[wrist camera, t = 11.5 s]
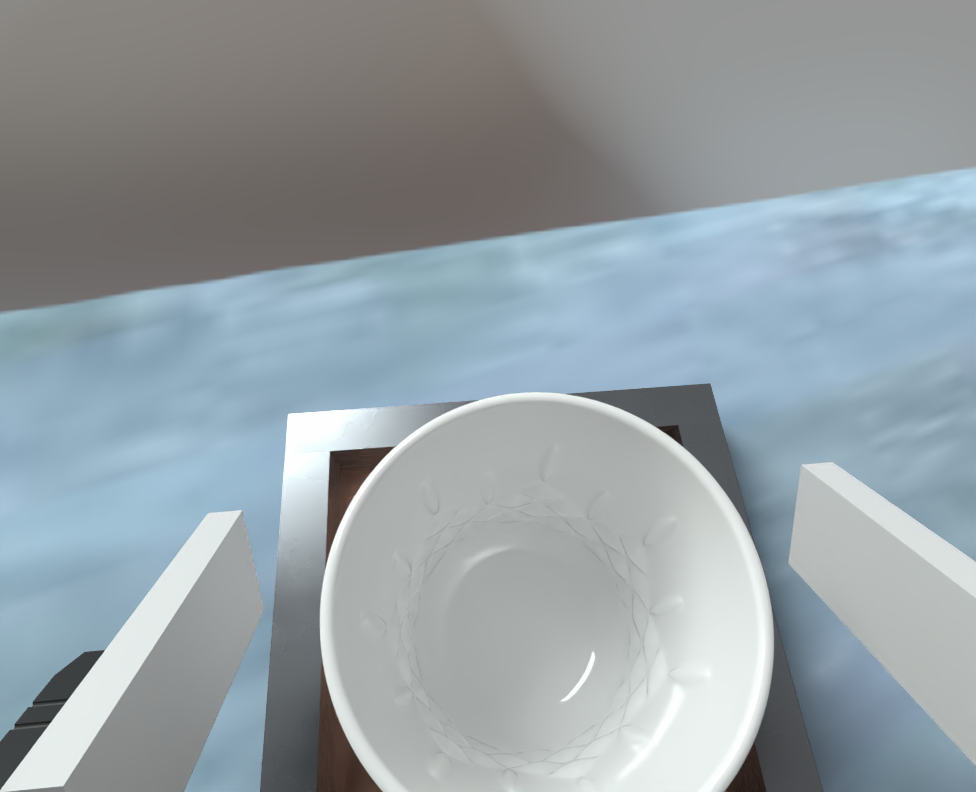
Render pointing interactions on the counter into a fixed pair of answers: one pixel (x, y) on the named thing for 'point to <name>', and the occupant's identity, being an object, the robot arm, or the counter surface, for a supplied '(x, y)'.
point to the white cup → (545, 608)
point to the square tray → (305, 550)
